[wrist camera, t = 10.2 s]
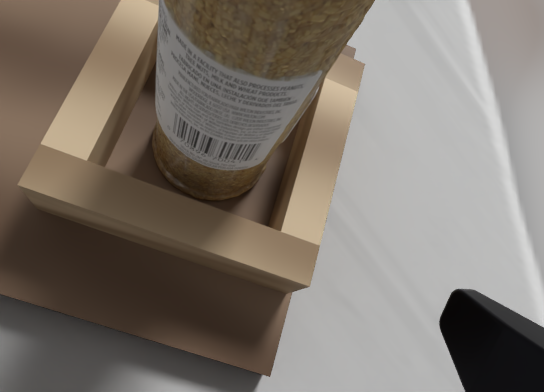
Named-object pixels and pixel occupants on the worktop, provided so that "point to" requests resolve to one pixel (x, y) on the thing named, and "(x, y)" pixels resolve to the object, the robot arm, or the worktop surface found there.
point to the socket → (148, 190)
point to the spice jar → (239, 83)
